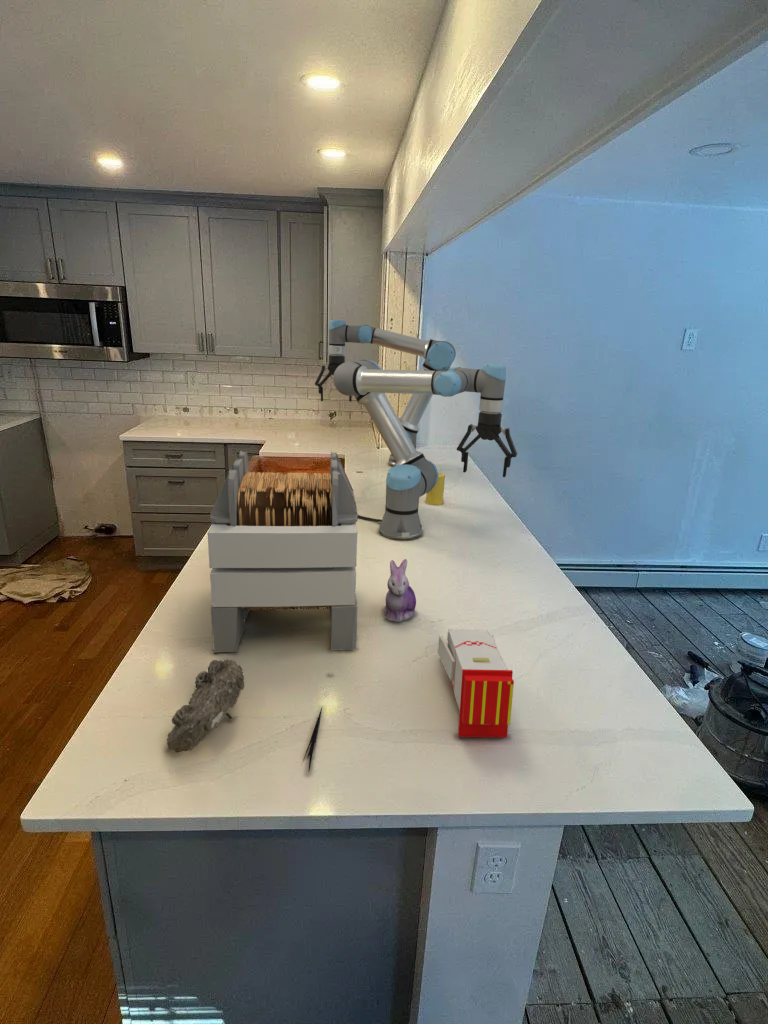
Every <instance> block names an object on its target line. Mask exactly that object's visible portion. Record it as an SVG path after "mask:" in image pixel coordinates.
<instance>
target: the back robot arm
mask: <svg viewBox="0 0 768 1024" xmlns="http://www.w3.org/2000/svg"><path fill="white" fill-rule="evenodd" d="M328 323H329V324H328V365H324V364H322V365H321V370H320V372H319V374H318V376H317V378H316V380H315V382H314V386H316V387H318V394H319V395H320V402H323V401H324V386H323V385H325V383H326V382H327V381H328V380H329V378H330V377H331V376H333V375H334V372H335V370H336V369H337V367H338V366H340V365H341V364H343V363H345V362H346V356H345V355H346V343H351V344H352V343H354V344H363V345H364V344H371V345H374V346H375V345H376V346H378V347H379V346H380V347H384V348H387V349H391V350H395V351H399V352H403V353H406V354H410V355H415V356H419V357H422V358H423V359H424V361H423V364H422V369H423V371H448V369H449V368H451V367H452V365H453V363H454V361H455V360H456V356H457V355H456V349H455V347H454V345H453V344H452V343H451V342H449V341H446V340H435V339H432V338H429V339H428V340H426V339H421V338H418V337H414V336H410V335H407V334H402V333H398V332H394V331H390V330H385V329H382V328H378V327H374V326H371V325H368V324H362V325H352V324H351V325H349V324H346V323H347V322H346V321H345V320H342V319H331V320H329V322H328ZM327 370H328V373H327V374H326V375H325V377H323V376H324V373H325V371H327ZM322 377H323V379H322ZM352 397H353V396H348V401H349V402H350V403H351V402H352ZM432 397H433V395H432V394H411V396H410V398H409V400H408V402H407V405H406V406H405V408H404V411H403V413H402V415H401V416H400V417H398V418H399V420H400V422H401V424H402V426H403V427H404V429H405V431H406V433H407V434H408V436H409V438H410V440H411V442H412V443H413V445H414V447H415V449H416V450H417V436H418V433H419V431H420V428H419V423H420V422H421V419H422V417H423V415H424V414H425V411H426V409H427V407H428V405H429V403H430V401H431V399H432ZM387 464H388V466H391V467H394V466H396V461H395V459H394V457H393V456H392V454H391V453H390V454H389V458H388V463H387Z"/></svg>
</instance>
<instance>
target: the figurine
mask: <svg viewBox="0 0 768 1024" xmlns="http://www.w3.org/2000/svg"><path fill="white" fill-rule="evenodd" d="M407 567H408V559H406V558H404V559H403V560H402V561H401V563H400V565H399V566H398V565H397V563H396V562H395V561H394V560H393V559H391V560H390V561H389V570H390V576H389V578H388V579H387V589H388V591H387V592H386V594H385V595H386V596H385V607H384V615H385V616H386V620H387V621H391V622H395V623H400V622H402V621H406V620H409V619H410V618H411V617H413V616H414V615H415V610H416V606H417V597H416V593H415V591H414V590H413V587H411V586H410V582H409V579H408V577H407V574H406V571H407Z"/></svg>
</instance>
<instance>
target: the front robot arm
mask: <svg viewBox="0 0 768 1024" xmlns="http://www.w3.org/2000/svg"><path fill="white" fill-rule="evenodd" d="M506 377H507V367H506V365H504V364H501V363H484V364H483V365H482V368H479V369H478V368H467V367H461V366H460V367H459V366H458V367H457V366H456V367H454V366H453V367H452V366H451V367H450V368H449V369H448V371H424V369H423V370H422V369H421V370H420V369H419V370H418V369H382V367H381V366H380V365H379V364H378V363H377V362H375V361H374V360H371V359H369V360H368V359H359V360H355V361H345V363H343V364H341V365H340V366H338V367H337V369H336V370H335V372H334V375H332V380H333V381H332V382H333V385H334V387H335V389H336V390H337V392H339V393H340V394H342V395H344V396H347V397H349V396H352V397H354V398H355V400H356V402H357V403H358V404H359V405H362V406H364V408H365V410H366V412H367V413H368V415H369V417H370V419H371V420H372V422H373V424H374V425H375V427H376V429H377V431H378V432H379V434H380V436H381V438H382V440H383V441H384V443H385V445H386V447H387V449H388V451H389V452H390V455H391V454H392V456H393V457H394V459H395V461H396V466H394V467H393V466H391V467H390V468H389V469H388V471H387V473H386V478H385V504H384V505H385V507H384V508H385V509H384V513H383V515H382V519H381V518H374V517H369V516H364V515H359V514H358V519H362V520H366V521H372V522H378V523H379V526H378V533H379V534H380V535H381V536H382V537H385V538H387V539H389V540H395V541H410V540H415V539H418V538H420V537H421V536H422V535H423V525H422V524H421V518H420V515H419V507H420V506H419V505H420V498H421V497H423V496H424V495H426V493H428V492H430V491H431V490H432V489H433V488H434V487H435V485H436V484H437V481H438V472H439V471H438V467H437V466H436V465H435V464H434V463H433V462H432V461H430V460H428V459H427V458H426V456H425V455H424V453H423V452H421V451H418V450H417V448H416V449H415V447H414V445H413V443H412V442H411V440H410V438H409V436H408V434H407V433H406V431H405V429H404V427H403V426H402V424H401V422H400V420H399V418H400V417H399V416H398V414H397V413H396V412H395V409H394V408H393V406H392V404H391V402H390V401H389V399H388V397H387V395H386V394H405V395H406V394H408V395H412V394H432V396H441V397H445V398H446V397H447V398H448V397H449V398H450V397H454V396H455V395H458V394H461V393H466V392H467V393H478V394H480V397H479V407H478V410H479V412H478V418H477V419H478V420H477V425H474V424H472V423H470V424H468V426H467V430H466V433H465V434H464V436H463V437H462V439H461V441H460V442H459V443H458V445H457V447H456V451H457V452H460V453H461V456H460V457H461V458H460V461H461V463H463V468H462V473H466V472H467V471H468V462H469V452H468V450H469V449H470V448H472V447H473V446H474V445H475V444H476V443H477V442H478V441H479V440H480V439H481V440H483V441H486V440H487V441H491V442H492V441H495V443H496V444H497V445H498V446H499V448H500V449H501V451H502V452H503V454H504V455H505V457H504V459H503V460H504V461H503V469H502V478H506V477H507V472H508V471H507V469H508V468H510V467H511V463H512V458H516V457H517V456H518V452H517V449H516V447H515V443H514V441H513V438H512V436H511V428H510V427H505V428H504V427H503V428H502V417H503V414H502V412H503V406H504V394H505V387H506V381H507V378H506ZM475 431H476V432H477V435H476V436H475V437H474V438H473V439H472V440H471V441H470V442H469V443H468V444H466V442H467V441H468V439H469V437H470V436H471V434H472V433H473V432H475ZM501 433H502V434H503V435H504V437H505V439H506V442H507V444H508V447H509V448H508V447H507V445H505V443H504V441H503V440H502V438H501V437H500V434H501ZM465 444H466V446H465ZM464 446H465V447H464Z"/></svg>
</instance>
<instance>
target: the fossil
mask: <svg viewBox="0 0 768 1024" xmlns="http://www.w3.org/2000/svg"><path fill="white" fill-rule="evenodd" d="M243 670H244V669H243V667H242V665H240V664H237V662H236V661H235V660H234V659H232V658H231V659H227V658H226V659H224V660H223V661H222V660H217V659H212V660H211V661H210V663H209V665H208V666H207V671H201V672H199V673H198V674H197V675H196V676H195V680H194V684H195V685H194V687H195V689H194V690H193V693H192V694H191V697H190V698H189V700H188V704H184V705H182V706H181V707H180V709H177V710H176V711H175V713H174V715H173V716H172V718H171V723H172V724H173V727H172V730H171V731H170V732H168V734H167V738H166V741H167V742H166V745H167V749H168V750H169V751H173V752H174V753H176V754H178V753H182V752H188V751H189V752H192V751H193V750H195V748H196V747H197V746H199V744H200V743H201V742H203V741H204V740H205V739H206V738H207V737H208V736H209V735H210V734H211V733H212V732H214V730H215V729H217V727H218V726H219V724H220V722H221V721H222V720H223V719H224V718H225V716H226V717H227V719H229V720H233V717H232V715H230V714H229V710H230V709H231V708H234V706H235V704H236V703H237V702H238V699H239V697H240V695H241V693H242V691H243V690H245V689H244V688H245V675H244V671H243Z"/></svg>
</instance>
